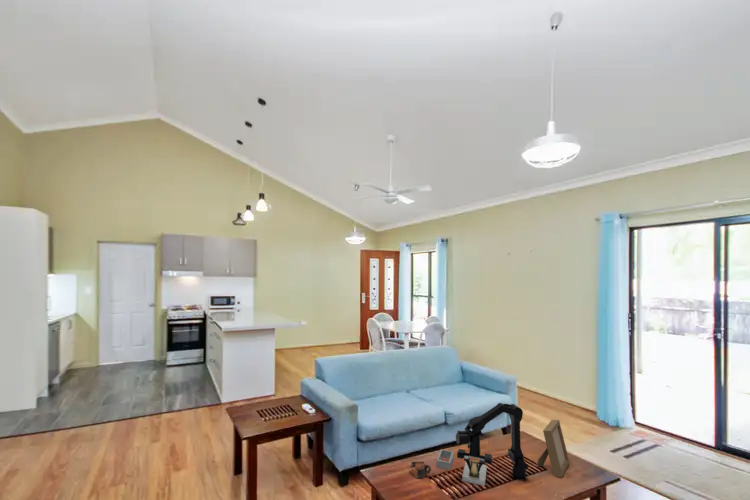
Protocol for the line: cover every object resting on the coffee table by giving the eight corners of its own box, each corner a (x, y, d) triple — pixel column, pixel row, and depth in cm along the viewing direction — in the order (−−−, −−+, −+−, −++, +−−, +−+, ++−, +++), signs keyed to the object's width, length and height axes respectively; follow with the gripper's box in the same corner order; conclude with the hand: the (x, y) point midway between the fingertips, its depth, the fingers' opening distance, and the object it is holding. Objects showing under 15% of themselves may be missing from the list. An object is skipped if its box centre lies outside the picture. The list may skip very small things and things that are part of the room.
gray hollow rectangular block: (453, 458, 236) (453, 451, 236) (449, 469, 222) (449, 462, 222) (441, 455, 239) (441, 449, 239) (436, 467, 224) (436, 460, 225)
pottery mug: (409, 478, 212) (408, 461, 217) (414, 479, 219) (412, 462, 224) (430, 477, 209) (428, 460, 213) (434, 477, 216) (432, 461, 220)
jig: (486, 469, 223) (486, 465, 223) (484, 485, 206) (484, 481, 206) (465, 465, 227) (465, 461, 227) (462, 481, 210) (462, 476, 210)
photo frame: (569, 464, 233) (569, 422, 235) (561, 478, 216) (561, 433, 217) (543, 456, 242) (543, 416, 244) (534, 470, 225) (534, 426, 226)
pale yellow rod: (478, 475, 214) (478, 460, 214) (477, 479, 210) (477, 464, 210) (470, 474, 215) (471, 459, 216) (470, 477, 211) (470, 462, 212)
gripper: (492, 440, 218) (492, 468, 217) (459, 434, 224) (459, 462, 223) (491, 448, 208) (491, 478, 207) (457, 442, 214) (456, 471, 213)
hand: (474, 471), depth 213 cm, fingers closed on pale yellow rod, 4 cm apart
